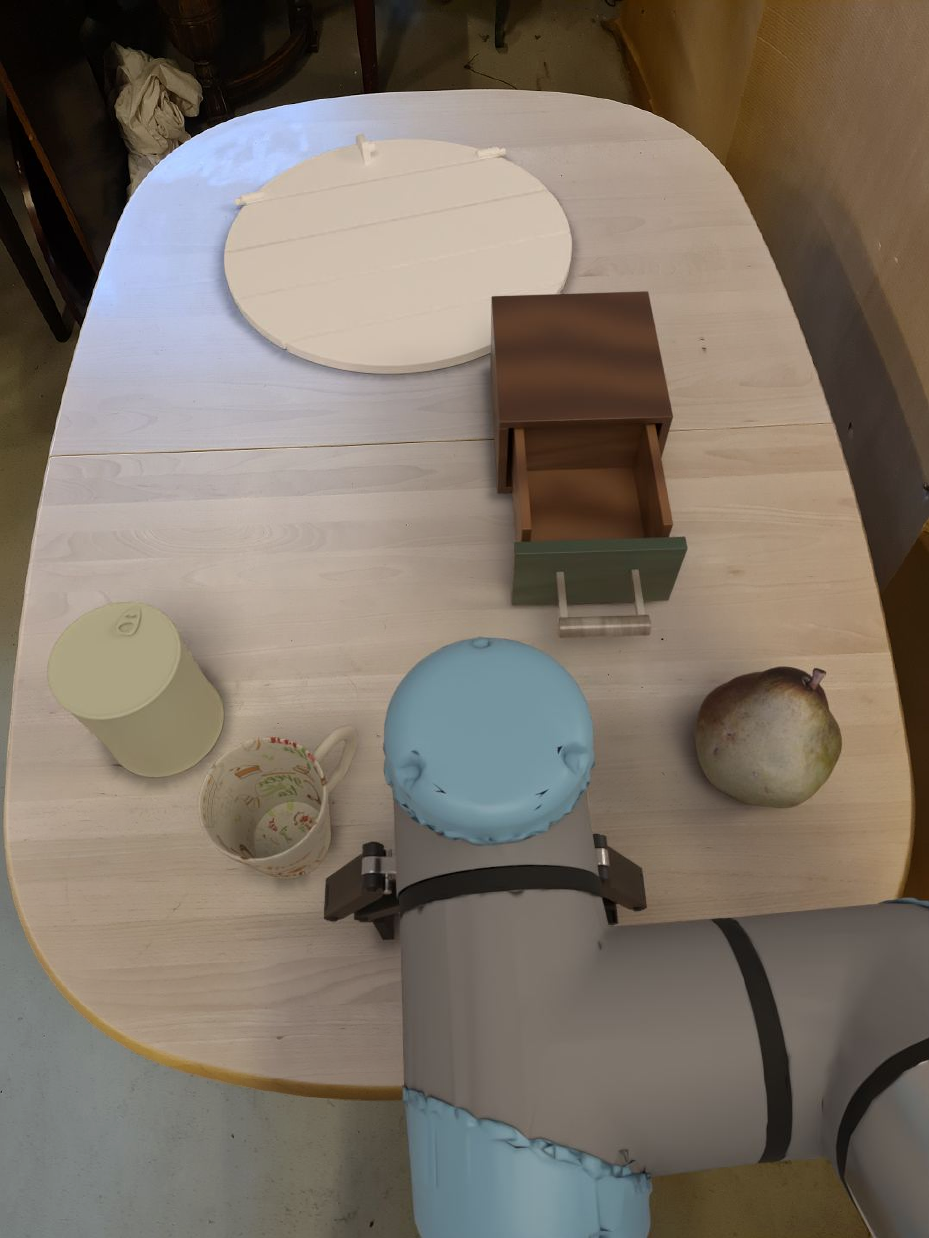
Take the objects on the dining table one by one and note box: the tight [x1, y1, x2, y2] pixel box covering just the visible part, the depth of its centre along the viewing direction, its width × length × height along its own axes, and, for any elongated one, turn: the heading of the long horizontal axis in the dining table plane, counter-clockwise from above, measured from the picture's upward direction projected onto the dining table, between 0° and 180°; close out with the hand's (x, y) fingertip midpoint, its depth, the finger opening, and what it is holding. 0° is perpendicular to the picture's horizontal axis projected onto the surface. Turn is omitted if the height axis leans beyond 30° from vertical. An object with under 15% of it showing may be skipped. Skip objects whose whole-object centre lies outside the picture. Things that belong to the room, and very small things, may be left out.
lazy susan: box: [223, 133, 573, 375], centre depth 96 cm, size 40×39×3 cm
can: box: [46, 601, 225, 778], centre depth 64 cm, size 9×9×12 cm
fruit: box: [694, 665, 843, 809], centre depth 61 cm, size 10×9×12 cm
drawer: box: [510, 423, 688, 639], centre depth 72 cm, size 20×13×8 cm, turn 2°
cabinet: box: [489, 290, 674, 494], centre depth 80 cm, size 16×15×10 cm
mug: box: [197, 724, 359, 880], centre depth 61 cm, size 8×13×10 cm, turn 145°
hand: (484, 916), depth 61 cm, fingers open, 13 cm apart
